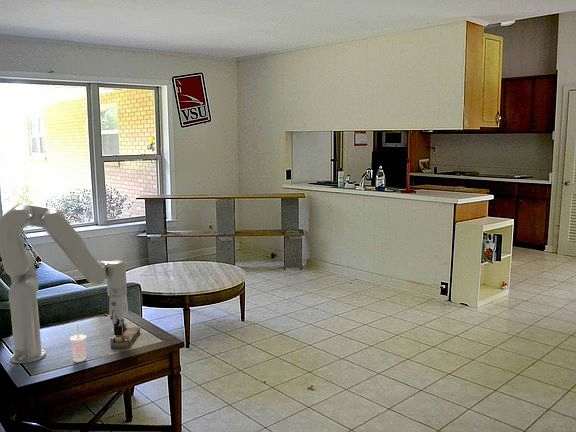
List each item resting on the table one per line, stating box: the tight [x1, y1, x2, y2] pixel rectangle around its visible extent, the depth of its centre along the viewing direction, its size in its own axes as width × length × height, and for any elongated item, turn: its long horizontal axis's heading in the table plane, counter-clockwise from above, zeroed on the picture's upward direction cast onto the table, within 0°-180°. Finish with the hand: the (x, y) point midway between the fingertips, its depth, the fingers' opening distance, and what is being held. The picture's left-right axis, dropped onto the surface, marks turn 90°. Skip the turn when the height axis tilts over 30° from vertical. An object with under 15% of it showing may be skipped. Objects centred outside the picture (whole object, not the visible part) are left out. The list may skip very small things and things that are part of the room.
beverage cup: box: [69, 324, 88, 363], centre depth 206 cm, size 6×6×14 cm
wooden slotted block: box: [109, 323, 141, 349], centre depth 227 cm, size 18×7×4 cm, turn 0°
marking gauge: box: [115, 321, 129, 342], centre depth 220 cm, size 4×5×8 cm
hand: (119, 333), depth 221 cm, fingers closed on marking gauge, 2 cm apart
